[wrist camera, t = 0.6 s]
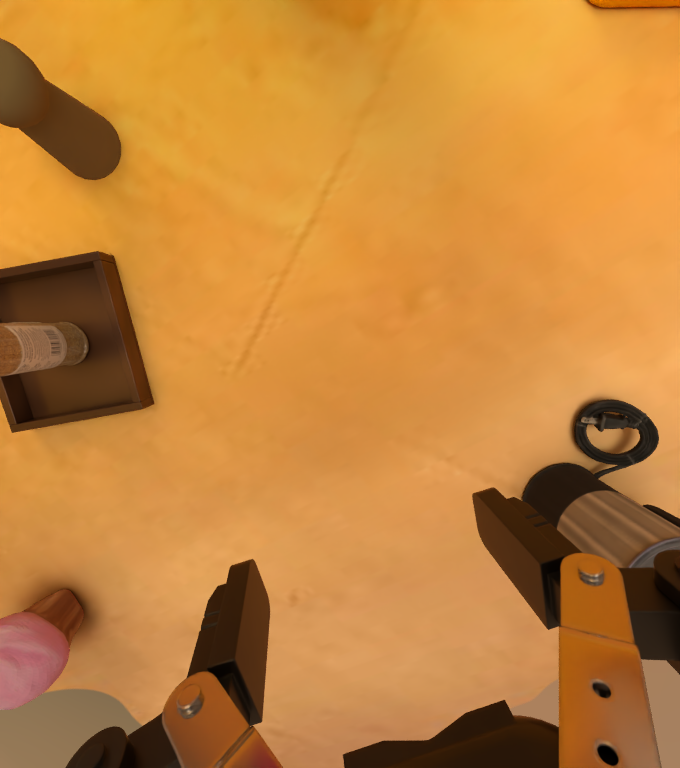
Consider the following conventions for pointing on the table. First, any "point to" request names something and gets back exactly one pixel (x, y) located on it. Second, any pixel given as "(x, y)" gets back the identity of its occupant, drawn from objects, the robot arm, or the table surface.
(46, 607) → the cupcake
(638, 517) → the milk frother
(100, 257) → the tray
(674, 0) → the element tile
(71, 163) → the olive chess pawn
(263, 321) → the table surface
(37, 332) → the sprinkles bottle
